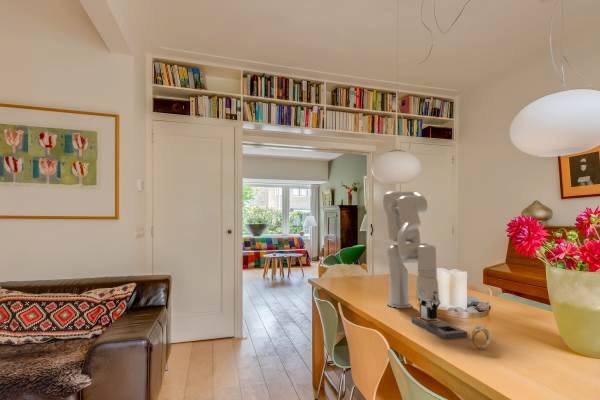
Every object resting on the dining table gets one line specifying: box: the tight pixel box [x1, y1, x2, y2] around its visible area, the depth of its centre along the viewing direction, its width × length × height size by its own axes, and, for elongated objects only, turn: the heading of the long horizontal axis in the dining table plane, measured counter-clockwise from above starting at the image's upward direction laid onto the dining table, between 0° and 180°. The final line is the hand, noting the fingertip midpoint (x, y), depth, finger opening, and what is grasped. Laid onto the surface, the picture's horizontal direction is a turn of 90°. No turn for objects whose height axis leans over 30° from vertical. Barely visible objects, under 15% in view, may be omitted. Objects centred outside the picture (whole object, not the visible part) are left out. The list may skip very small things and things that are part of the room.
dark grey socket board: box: [411, 316, 468, 341], centre depth 137 cm, size 22×10×2 cm, turn 14°
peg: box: [420, 303, 435, 322], centre depth 144 cm, size 4×4×8 cm
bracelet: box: [469, 324, 491, 350], centre depth 117 cm, size 7×3×8 cm, turn 94°
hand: (428, 315), depth 143 cm, fingers open, 5 cm apart
